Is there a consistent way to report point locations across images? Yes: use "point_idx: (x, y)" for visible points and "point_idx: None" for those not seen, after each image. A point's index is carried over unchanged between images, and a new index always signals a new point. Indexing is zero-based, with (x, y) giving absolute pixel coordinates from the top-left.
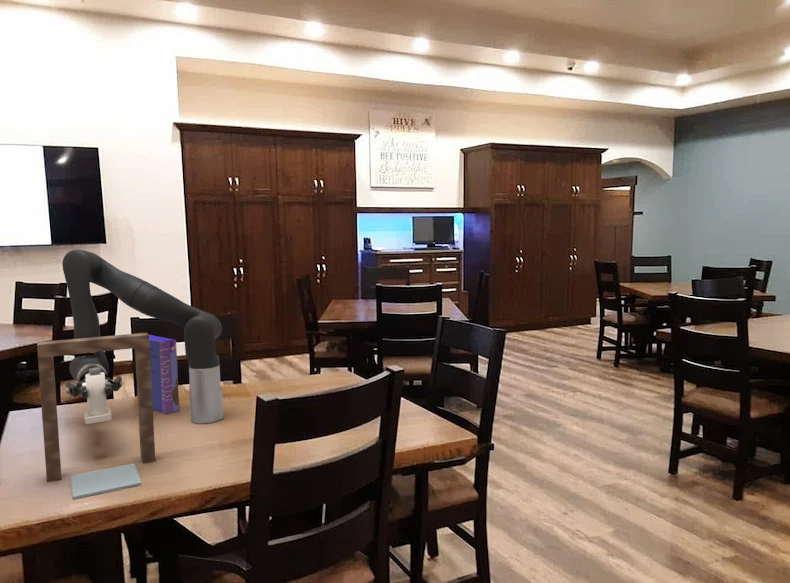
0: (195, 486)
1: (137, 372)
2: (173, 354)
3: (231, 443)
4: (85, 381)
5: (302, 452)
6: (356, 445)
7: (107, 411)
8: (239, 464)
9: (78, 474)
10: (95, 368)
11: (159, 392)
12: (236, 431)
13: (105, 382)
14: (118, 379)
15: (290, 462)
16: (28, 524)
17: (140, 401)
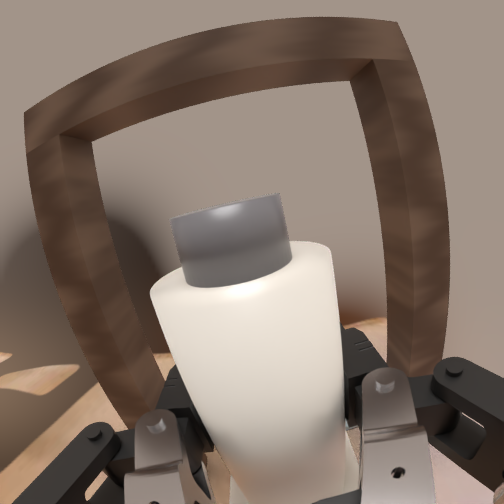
0: (171, 361)
1: (101, 234)
2: None
3: (46, 452)
4: (410, 484)
5: (39, 383)
6: (12, 373)
7: (243, 497)
8: (97, 389)
9: (347, 425)
10: (216, 207)
11: None
12: (6, 485)
13: (162, 461)
14: (40, 484)
15: (66, 372)
16: (365, 320)
17: (139, 327)
